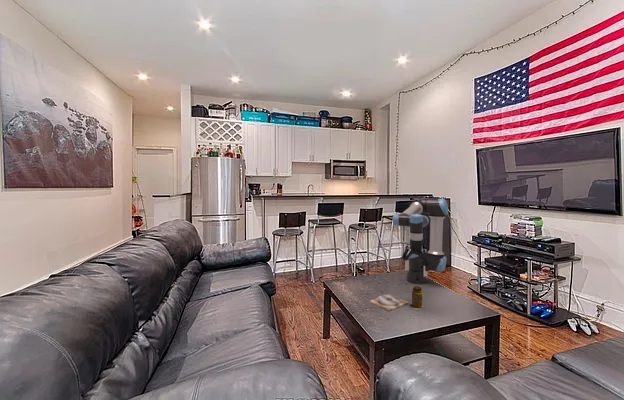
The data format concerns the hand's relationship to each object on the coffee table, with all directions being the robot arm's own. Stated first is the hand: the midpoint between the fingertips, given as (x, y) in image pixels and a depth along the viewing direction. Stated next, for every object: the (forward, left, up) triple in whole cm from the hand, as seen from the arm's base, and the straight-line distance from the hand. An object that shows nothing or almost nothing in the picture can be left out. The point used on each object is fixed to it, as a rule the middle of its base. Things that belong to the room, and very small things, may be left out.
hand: (415, 273), depth 176 cm
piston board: (+10, -13, -21) cm, 27 cm away
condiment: (0, 0, -22) cm, 22 cm away
